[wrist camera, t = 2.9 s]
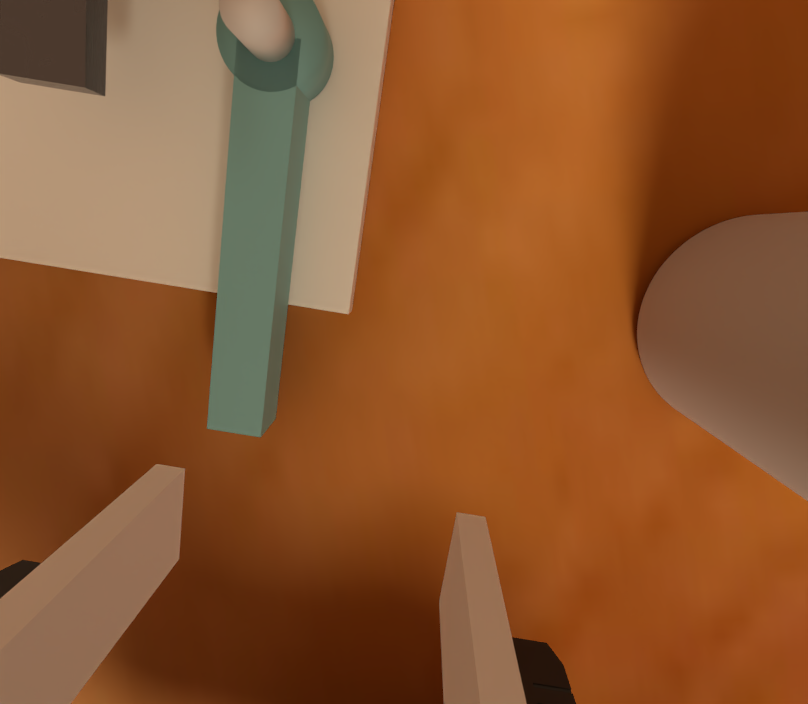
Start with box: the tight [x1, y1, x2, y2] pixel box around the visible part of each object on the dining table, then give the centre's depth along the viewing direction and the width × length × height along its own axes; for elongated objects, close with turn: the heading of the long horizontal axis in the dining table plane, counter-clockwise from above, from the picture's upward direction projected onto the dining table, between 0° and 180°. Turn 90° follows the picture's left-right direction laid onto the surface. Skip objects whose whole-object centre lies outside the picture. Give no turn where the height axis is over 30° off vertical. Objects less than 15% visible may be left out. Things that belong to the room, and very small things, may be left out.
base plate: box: [0, 0, 394, 314], centre depth 28 cm, size 28×22×2 cm
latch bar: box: [207, 0, 334, 437], centre depth 26 cm, size 22×5×6 cm, turn 171°
